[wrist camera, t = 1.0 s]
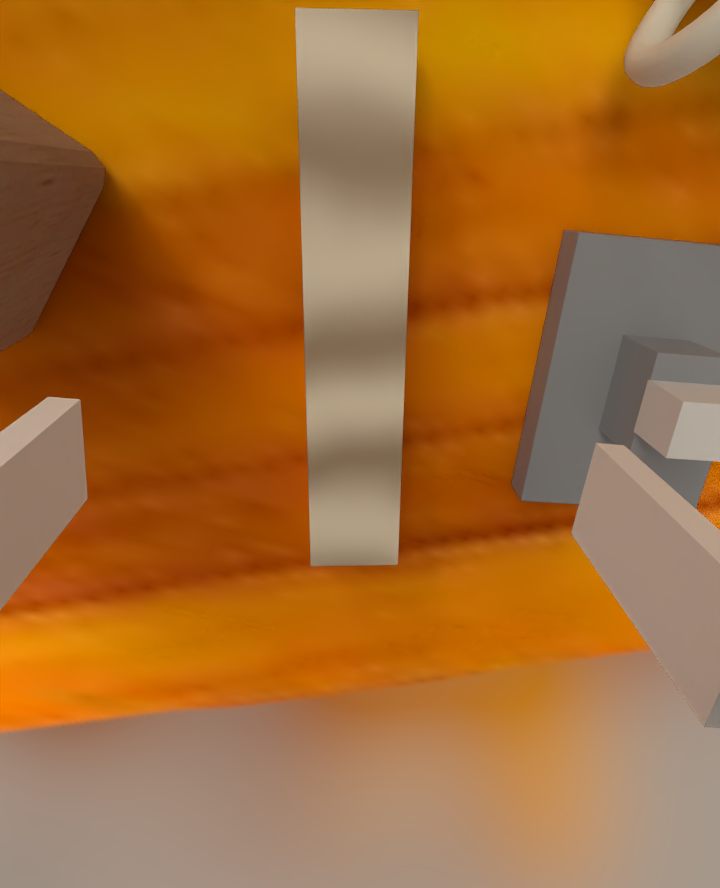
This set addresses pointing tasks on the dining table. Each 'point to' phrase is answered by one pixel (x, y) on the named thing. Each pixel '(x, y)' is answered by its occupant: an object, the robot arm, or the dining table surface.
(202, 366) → the dining table surface
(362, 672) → the dining table surface
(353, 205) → the batten
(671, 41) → the floral ceramic pitcher
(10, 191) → the wooden block
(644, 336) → the fulcrum
